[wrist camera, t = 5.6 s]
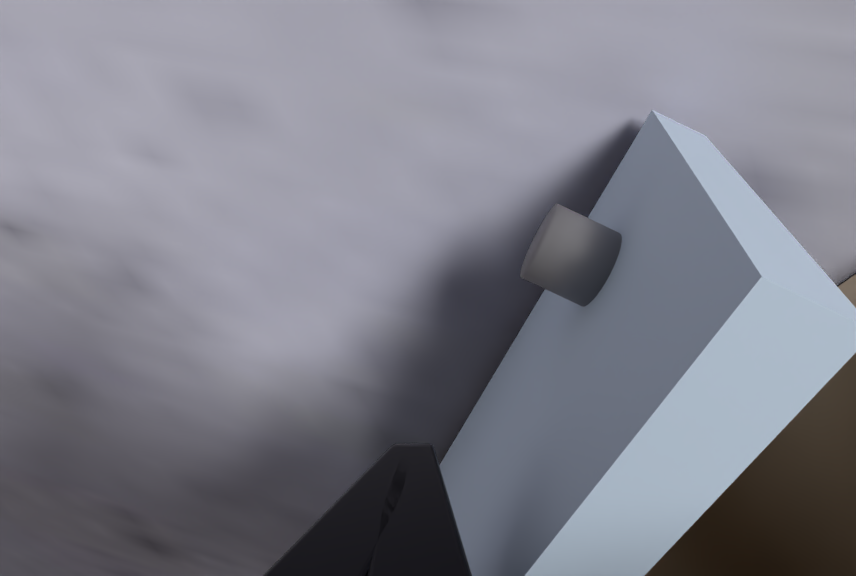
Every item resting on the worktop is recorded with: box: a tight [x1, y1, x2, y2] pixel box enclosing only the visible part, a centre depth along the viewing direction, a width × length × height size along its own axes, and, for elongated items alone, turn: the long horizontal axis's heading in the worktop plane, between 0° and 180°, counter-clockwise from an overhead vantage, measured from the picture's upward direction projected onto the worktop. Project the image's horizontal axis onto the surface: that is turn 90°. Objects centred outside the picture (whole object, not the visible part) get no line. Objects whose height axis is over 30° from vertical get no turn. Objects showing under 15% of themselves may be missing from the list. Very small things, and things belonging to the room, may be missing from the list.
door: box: [439, 110, 856, 576], centre depth 11 cm, size 13×2×7 cm, turn 157°
